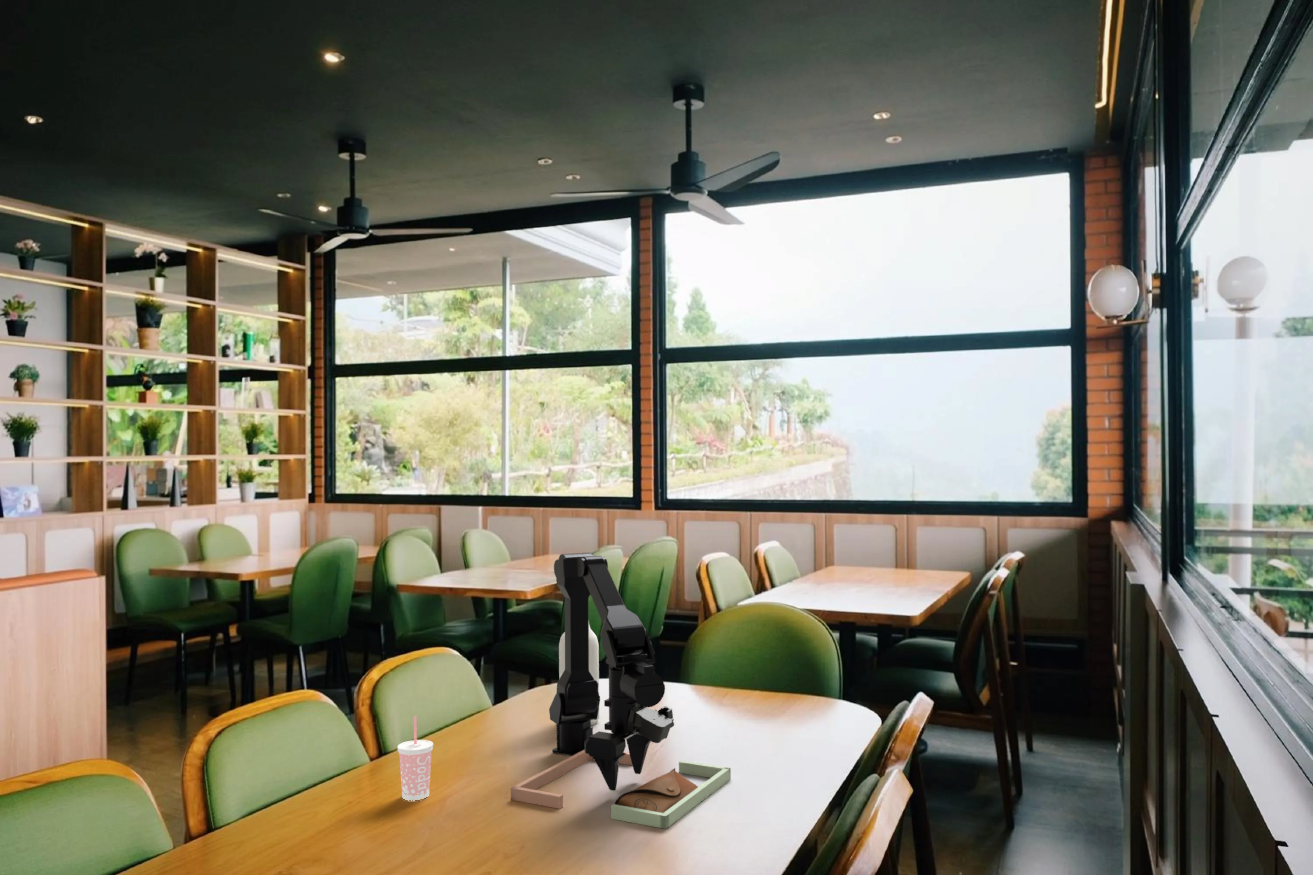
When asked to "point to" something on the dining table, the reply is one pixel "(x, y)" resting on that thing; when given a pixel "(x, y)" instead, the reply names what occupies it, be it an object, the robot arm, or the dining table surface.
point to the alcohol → (592, 659)
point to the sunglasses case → (658, 793)
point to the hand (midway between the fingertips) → (625, 781)
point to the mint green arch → (674, 813)
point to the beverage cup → (415, 767)
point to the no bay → (528, 787)
